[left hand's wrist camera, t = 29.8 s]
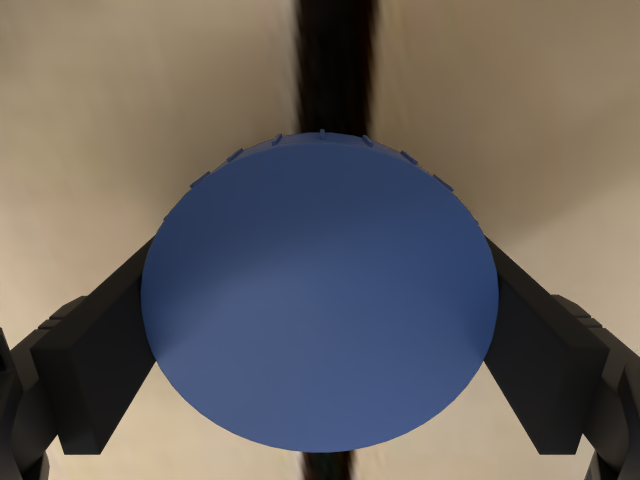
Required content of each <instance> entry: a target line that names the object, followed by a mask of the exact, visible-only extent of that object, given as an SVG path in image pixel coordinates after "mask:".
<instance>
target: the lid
mask: <svg viewBox="0 0 640 480" xmlns="http://www.w3.org/2000/svg"><path fill="white" fill-rule="evenodd" d="M417 163H418V162H417V161H416V160H415V159H413V158H412V157H411V156H409V155H408V154H407V153H405V152H404V151H401V153H399V152H397V151H396V150H394V149H391V148H389V147H387V146H384V145H382V144H380V143H377V142H375V141H371V140H370V139H369V138H368V137H367V136H365V135H363V137H362V138H360V137H357V136H353V135H345V134H338V133H325V131H324V129H321V130H320V133H302V134H294V135H287V136H283V137H282V134H278V135H277V136H276V137H275V138H274V139H272V140H268V141H265V142H262V143H260V144H258V145H255V146H253V147H251V148H248V149H246V150H244V151H243V149H242V148H241V149H239V150H238V151H237V152H235V153H234V154H233V155H231V156H230V157H229V158H228V159H227V161H226V162H224V163H223V164H222V165H221V166H219V167H218V168H217V169H216V170H214V171H213V172H212V173H210V172H207V173H206V174H204V175H203V176H202V177H201V178H199V179H198V180H197V181H195V182H194V183H193V184H192V185H191V186H190V187H191V188H192V189H191V190H190V191H189V192H187V193H186V194H185V195H184V197H183V198H182V199H181V200H180V201H179V202H178V203H177V204H176V206H175V207H174V208H173V209H172V210H171V211H170V213H169V214H168V215H167V216H166V217H165V218H164V222H163V223H162V225H161V226H160V228H159V229H158V231H157V233H156V235H155V238H154V240H153V242H152V244H151V247H150V249H149V251H148V255H147V258H146V262H145V265H144V269H143V274H142V283H141V292H140V295H141V310H142V316H143V321H144V326H145V331H146V336H147V340H148V343H149V346H150V348H151V351H152V353H153V355H154V357H155V359H156V361H157V363H158V365H159V367H160V369H161V370H162V372H163V373H164V375H165V376H166V378H167V379H168V380H169V382H170V383H171V385H172V386H173V387H174V388H175V389H176V390H177V392H178V393H179V394H180V395H181V396H182V397H183V398H184V399H185V400H186V401H187V402H188V403H189V404H190V405H191V406H193V407H194V408H195V409H196V410H197V411H198V412H199V413H201V414H202V415H204V416H205V417H207V418H208V419H210V420H211V421H212V422H214V423H215V424H217V425H219V426H221V427H223V428H224V429H226V430H228V431H230V432H232V433H234V434H236V435H239V436H241V437H243V438H246V439H248V440H251V441H254V442H257V443H260V444H264V445H267V446H270V447H275V448H281V449H286V450H292V451H302V452H337V451H347V450H354V449H359V448H364V447H369V446H372V445H376V444H379V443H382V442H386V441H389V440H391V439H394V438H396V437H398V436H401V435H403V434H406V433H408V432H409V431H411V430H413V429H415V428H417V427H419V426H421V425H422V424H424V423H426V422H427V421H428V420H430V419H431V418H433V417H434V416H436V415H437V414H439V413H440V412H441V411H442V410H443V409H445V408H446V407H447V406H448V405H449V404H450V403H451V402H453V401H454V400H455V399H456V398H457V396H458V395H459V394H460V393H461V392H462V391H463V390H464V389H465V388H466V386H467V385H468V384H469V383H470V381H471V380H472V378H473V377H474V375H475V374H476V372H477V371H478V370H479V368H480V366H481V364H482V362H483V360H484V358H485V356H486V354H487V352H488V350H489V347H490V344H491V341H492V338H493V334H494V329H495V324H496V319H497V314H498V306H499V287H498V278H497V271H496V267H495V263H494V260H493V256H492V252H491V250H490V247H489V245H488V243H487V241H486V239H485V236H484V234H483V232H482V230H481V228H480V227H479V225H478V222H477V221H476V220H475V219H474V218H473V216H472V215H471V213H470V212H469V210H468V209H467V208H466V207H465V206H464V205H463V204H462V203H461V201H460V200H459V199H458V198H457V197H456V196H455V195H454V194H453V193H452V191H453V189H452V188H451V187H450V186H449V185H447V184H446V183H445V182H443V181H442V180H441V179H439V178H438V177H437V176H436V175H433V176H432V175H430V174H429V173H428V172H427V171H425V170H424V169H423V168H421V167H420V166H419V165H418V164H417Z"/></svg>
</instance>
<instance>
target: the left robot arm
mask: <svg viewBox="0 0 640 480" xmlns="http://www.w3.org/2000/svg"><path fill="white" fill-rule="evenodd" d="M484 236H485V235H484ZM154 238H155V236H154V237H153V238H151V239H150V240H149V241H148V242H147V243H146V244H145V245H144V246H143V247H141V248H140V249H139V250H138V251H137V252H136V253H135V254H134V255H133V256H132V257H130V258H129V259H128V260H127V261H126V262H125V263H124V264H123V265H122V266H120V267H119V268H118V269H117V270H116V271H115V272H114V273H113V274H112V275H110V276H109V277H108V278H107V279H106V280H105V281H104V282H103V283H102V284H100V285H99V286H98V287H97V288H96V289H95V290H94V291H93V292H92V293H91V294H89V295H88V296H81V297H79V298H77V299H75V300H73V301H71V302H69V303H67V304H65V305H63V306H62V307H61V308H60V309H58V310H57V311H56V312H55V313H54V314H53V315H51V316H50V317H49V320H46V321H44V322H43V323H42V324H41V325H40V326H39V327H38V329H37V330H34V331H33V332H31V333H30V334H29V335H28V336H27V337H26V338H24V339H23V340H22V341H21V342H20V343H19V344H17V345H16V346H15V347H14V348H13V349H12V350H9V347H8V344H7V341H6V339H5V336H4V333H3V330H2V328H0V480H48V475H49V468H50V466H49V461H48V457H47V454H46V451H45V450H46V449H47V448H48V446H49V445H50V444H51V442H52V441H53V440H54V438H55V437H56V436H57V434H58V437H59V440H60V443H61V446H62V449H63V452H64V455H100V454H101V452H102V450H103V449H104V447H105V445H106V444H107V442H108V440H109V439H110V437H111V435H112V434H113V432H114V430H115V429H116V427H117V425H118V424H119V422H120V420H121V419H122V417H123V415H124V414H125V412H126V410H127V409H128V407H129V405H130V404H131V402H132V400H133V399H134V397H135V395H136V393H137V392H138V390H139V388H140V387H141V385H142V383H143V382H144V380H145V378H146V377H147V375H148V373H149V372H150V370H151V368H152V367H153V365H154V363H155V362H156V359H155V357H154V355H153V353H152V351H151V348H150V346H149V343H148V340H147V336H146V331H145V326H144V321H143V316H142V310H141V295H140V292H141V283H142V274H143V269H144V265H145V262H146V258H147V255H148V251H149V249H150V247H151V244H152V242H153V240H154ZM485 239H486V241H487V243H488V245H489V247H490V250H491V252H492V256H493V260H494V263H495V267H496V271H497V278H498V287H499V306H498V314H497V319H496V324H495V329H494V334H493V338H492V341H491V344H490V347H489V350H488V352H487V354H486V356H485V358H484V362H485V364H486V365H487V367H488V369H489V370H490V372H491V374H492V375H493V377H494V379H495V381H496V382H497V384H498V386H499V387H500V389H501V391H502V392H503V394H504V396H505V397H506V399H507V401H508V402H509V404H510V406H511V407H512V409H513V411H514V412H515V414H516V416H517V417H518V419H519V421H520V422H521V424H522V426H523V427H524V429H525V431H526V432H527V434H528V436H529V437H530V439H531V441H532V442H533V444H534V446H535V448H536V449H537V451H538V453H539V454H540V455H575V454H576V451H577V448H578V445H579V442H580V439H581V436H582V433H583V434H584V435H585V437H586V438H587V439H588V441H589V442H590V443H591V445H592V446H593V447H594V448H595V451H594V454H593V457H592V460H591V462H590V465H589V468H588V471H587V474H586V476H585V479H584V480H640V357H639V356H638V355H636V354H635V353H634V352H633V351H632V350H631V349H629V348H628V347H627V346H626V345H625V344H623V343H622V342H621V341H620V340H619V339H618V338H616V337H615V336H614V335H613V334H612V333H610V332H609V331H608V330H607V329H606V328H602V325H601V324H600V323H599V322H597V321H596V320H595V319H594V318H591V316H590V315H589V314H588V313H587V312H586V311H584V310H583V309H582V308H581V307H580V306H579V305H577V304H575V303H574V302H572V301H570V300H568V299H566V298H564V297H562V296H560V295H550V294H549V293H548V292H547V291H546V290H545V289H544V288H543V287H541V286H540V285H539V284H538V283H537V282H536V281H535V280H534V279H533V278H531V277H530V276H529V275H528V274H527V273H526V272H525V271H524V270H523V269H522V268H520V267H519V266H518V265H517V264H516V263H515V262H514V261H513V260H512V259H510V258H509V257H508V256H507V255H506V254H505V253H504V252H503V251H502V250H500V249H499V248H498V247H497V246H496V245H495V244H494V243H493V242H492V241H490V240H489V239H488V238H487V237H486V236H485Z"/></svg>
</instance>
